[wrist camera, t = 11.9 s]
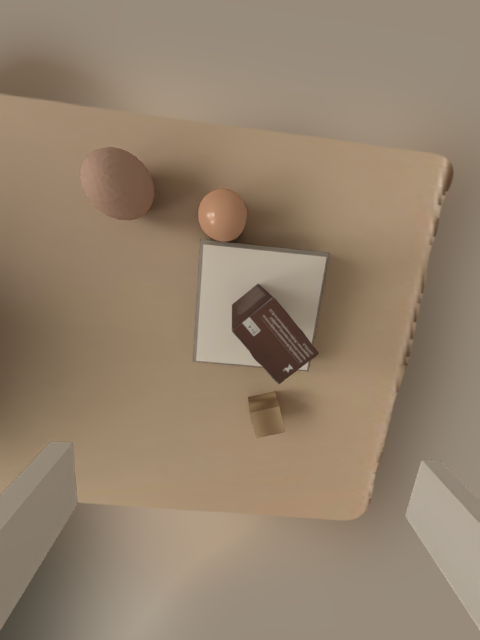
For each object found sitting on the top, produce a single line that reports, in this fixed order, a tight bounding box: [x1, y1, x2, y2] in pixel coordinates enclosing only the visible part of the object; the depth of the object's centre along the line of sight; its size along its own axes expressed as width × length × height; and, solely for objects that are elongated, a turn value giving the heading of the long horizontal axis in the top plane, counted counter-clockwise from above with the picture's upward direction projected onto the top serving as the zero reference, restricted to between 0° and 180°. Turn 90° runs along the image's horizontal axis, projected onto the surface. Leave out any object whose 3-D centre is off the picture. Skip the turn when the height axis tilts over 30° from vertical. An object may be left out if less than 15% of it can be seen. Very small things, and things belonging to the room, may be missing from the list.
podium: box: [193, 240, 329, 371], centre depth 34 cm, size 15×15×4 cm
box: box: [232, 284, 318, 384], centre depth 26 cm, size 6×4×12 cm
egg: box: [80, 147, 155, 220], centre depth 28 cm, size 7×7×9 cm
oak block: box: [248, 391, 285, 438], centre depth 38 cm, size 4×4×4 cm
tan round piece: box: [198, 189, 247, 242], centre depth 30 cm, size 5×5×6 cm
